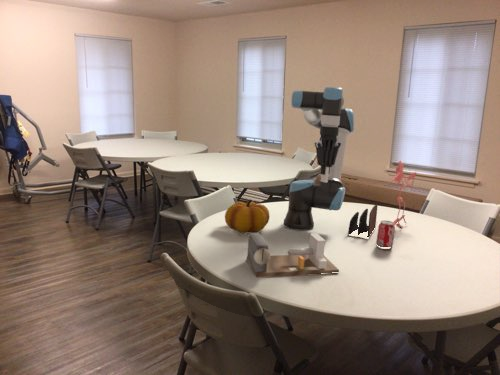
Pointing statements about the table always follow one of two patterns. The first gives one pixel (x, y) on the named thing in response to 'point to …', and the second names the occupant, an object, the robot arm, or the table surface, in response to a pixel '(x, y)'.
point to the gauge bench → (279, 261)
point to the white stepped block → (313, 251)
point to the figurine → (398, 178)
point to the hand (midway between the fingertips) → (324, 181)
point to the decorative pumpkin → (247, 217)
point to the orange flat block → (301, 262)
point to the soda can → (385, 234)
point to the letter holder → (363, 222)
